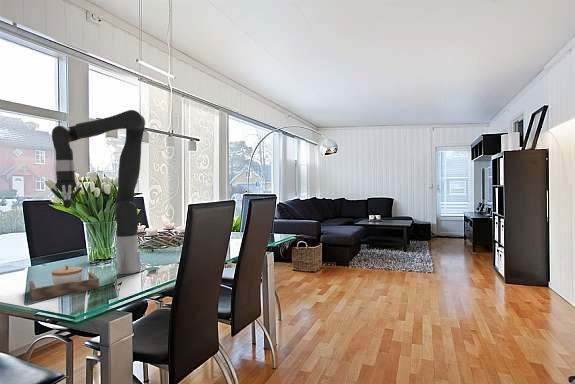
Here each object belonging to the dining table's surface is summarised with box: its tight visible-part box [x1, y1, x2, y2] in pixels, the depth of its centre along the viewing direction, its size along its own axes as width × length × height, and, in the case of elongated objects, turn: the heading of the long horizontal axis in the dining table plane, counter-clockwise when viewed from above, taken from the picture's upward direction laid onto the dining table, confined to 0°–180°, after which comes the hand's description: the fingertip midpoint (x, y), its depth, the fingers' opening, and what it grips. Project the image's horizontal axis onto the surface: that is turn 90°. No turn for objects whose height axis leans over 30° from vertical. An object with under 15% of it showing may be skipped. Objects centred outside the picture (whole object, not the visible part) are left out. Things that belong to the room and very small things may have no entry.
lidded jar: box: [51, 265, 83, 285], centre depth 159 cm, size 11×11×9 cm
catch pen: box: [28, 271, 100, 301], centre depth 158 cm, size 22×15×4 cm
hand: (67, 208), depth 183 cm, fingers closed
